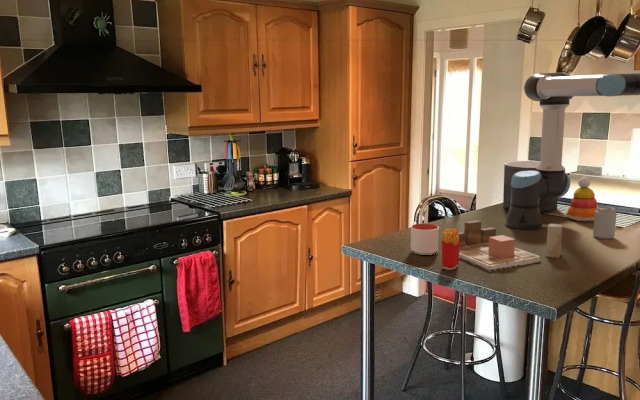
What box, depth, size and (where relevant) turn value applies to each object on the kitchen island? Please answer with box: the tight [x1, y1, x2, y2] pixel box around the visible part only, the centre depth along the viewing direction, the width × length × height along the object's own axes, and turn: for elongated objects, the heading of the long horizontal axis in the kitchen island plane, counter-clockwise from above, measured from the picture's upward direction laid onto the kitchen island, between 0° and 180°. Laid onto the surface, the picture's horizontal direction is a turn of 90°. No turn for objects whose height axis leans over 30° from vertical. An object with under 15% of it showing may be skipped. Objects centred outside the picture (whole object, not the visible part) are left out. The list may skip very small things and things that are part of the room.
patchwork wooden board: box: [459, 227, 536, 265], centre depth 184 cm, size 22×20×6 cm
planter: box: [502, 160, 559, 214], centre depth 256 cm, size 25×25×22 cm
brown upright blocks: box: [463, 219, 519, 262], centre depth 183 cm, size 22×6×10 cm, turn 23°
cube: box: [488, 234, 516, 258], centre depth 179 cm, size 6×6×6 cm
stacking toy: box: [565, 176, 598, 222], centre depth 231 cm, size 14×14×20 cm
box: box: [545, 223, 563, 259], centre depth 182 cm, size 5×4×11 cm
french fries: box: [441, 227, 460, 268], centre depth 173 cm, size 9×4×13 cm, turn 143°
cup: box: [410, 223, 440, 253], centre depth 190 cm, size 10×10×10 cm
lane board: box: [459, 244, 542, 270], centre depth 184 cm, size 24×22×2 cm
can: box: [592, 206, 618, 240], centre depth 203 cm, size 8×8×12 cm
